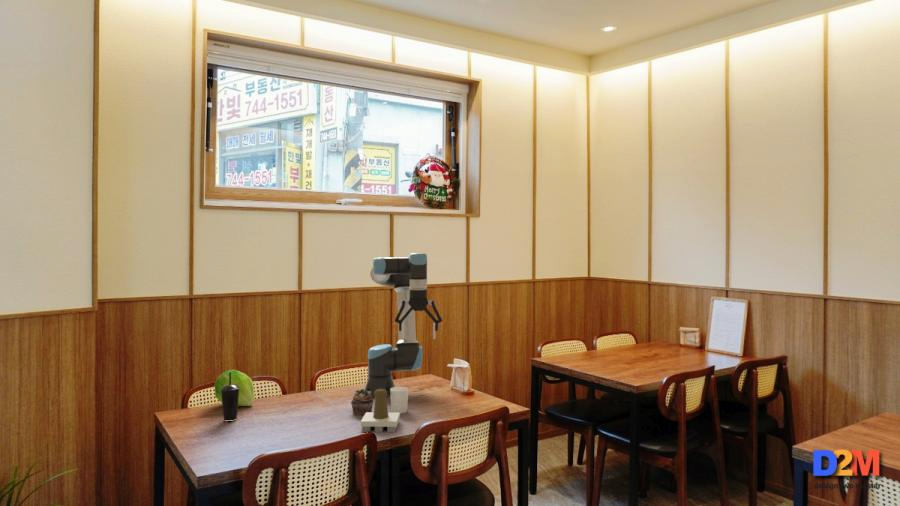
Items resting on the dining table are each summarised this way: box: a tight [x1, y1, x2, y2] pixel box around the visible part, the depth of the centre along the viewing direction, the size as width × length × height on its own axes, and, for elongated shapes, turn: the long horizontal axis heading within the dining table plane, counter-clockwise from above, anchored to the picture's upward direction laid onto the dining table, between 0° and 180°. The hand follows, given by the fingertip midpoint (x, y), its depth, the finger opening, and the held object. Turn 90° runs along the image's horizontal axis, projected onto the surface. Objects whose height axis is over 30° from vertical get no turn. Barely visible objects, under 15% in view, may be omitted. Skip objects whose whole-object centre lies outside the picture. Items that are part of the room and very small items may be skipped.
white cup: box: [390, 386, 409, 415], centre depth 251 cm, size 8×8×10 cm
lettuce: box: [214, 369, 255, 407], centre depth 261 cm, size 17×20×16 cm
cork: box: [373, 389, 389, 419], centre depth 230 cm, size 6×6×11 cm
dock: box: [360, 411, 401, 433], centre depth 230 cm, size 12×14×4 cm
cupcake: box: [350, 388, 374, 416], centre depth 250 cm, size 10×10×10 cm
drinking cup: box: [220, 372, 240, 421], centre depth 239 cm, size 8×8×20 cm
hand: (418, 338), depth 246 cm, fingers open, 13 cm apart
